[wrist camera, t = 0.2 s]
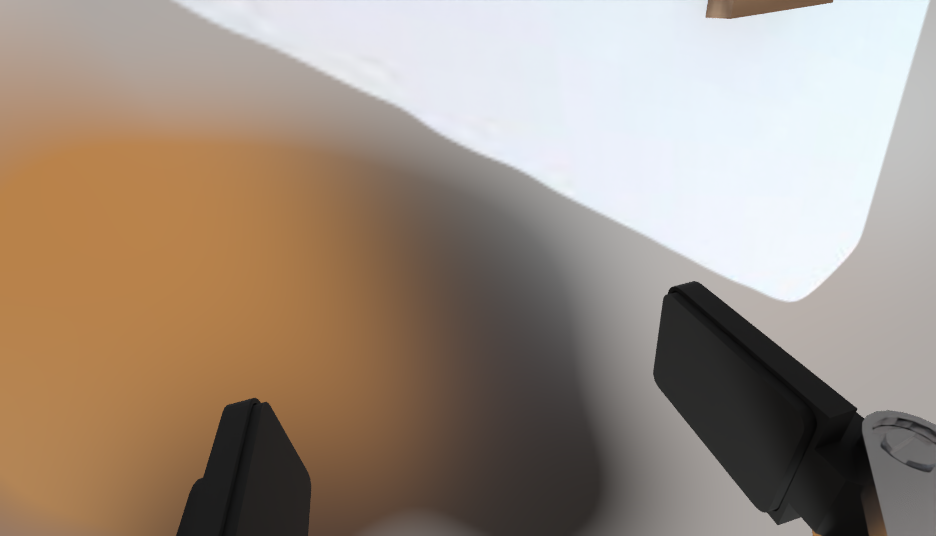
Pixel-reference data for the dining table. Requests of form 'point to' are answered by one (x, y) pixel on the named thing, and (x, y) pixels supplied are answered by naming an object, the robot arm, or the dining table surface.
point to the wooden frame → (754, 7)
